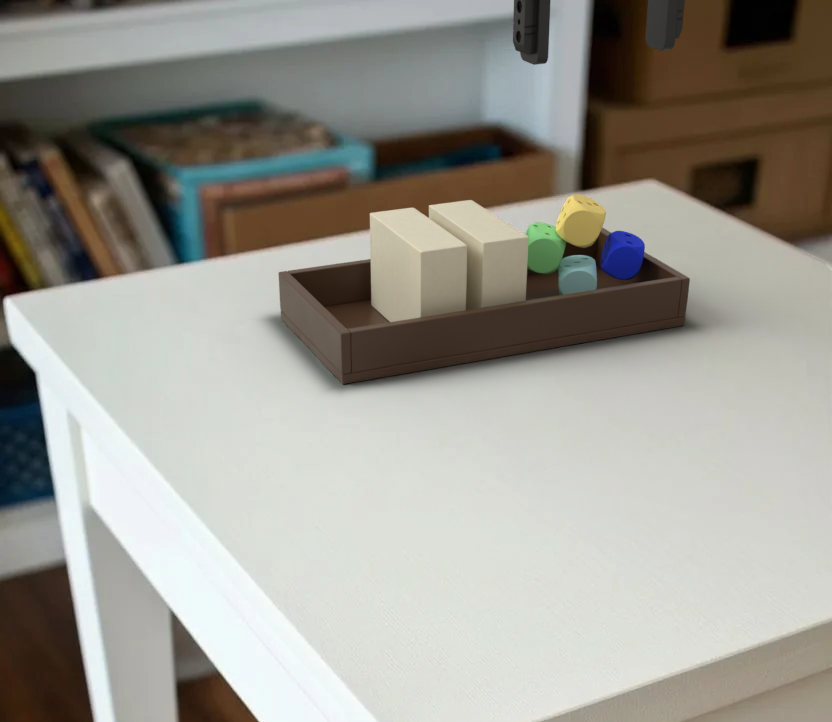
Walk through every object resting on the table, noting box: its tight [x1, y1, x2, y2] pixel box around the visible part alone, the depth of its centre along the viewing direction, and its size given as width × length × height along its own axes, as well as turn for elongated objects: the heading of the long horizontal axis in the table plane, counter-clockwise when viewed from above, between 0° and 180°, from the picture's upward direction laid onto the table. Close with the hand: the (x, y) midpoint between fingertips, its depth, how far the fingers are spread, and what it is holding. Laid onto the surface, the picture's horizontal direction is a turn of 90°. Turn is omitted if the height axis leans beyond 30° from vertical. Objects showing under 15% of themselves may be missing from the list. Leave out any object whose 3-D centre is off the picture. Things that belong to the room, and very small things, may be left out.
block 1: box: [369, 206, 467, 322], centre depth 85 cm, size 3×8×6 cm, turn 23°
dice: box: [524, 193, 646, 295], centre depth 88 cm, size 8×3×6 cm, turn 87°
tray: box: [278, 227, 691, 385], centre depth 87 cm, size 23×11×3 cm, turn 113°
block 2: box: [428, 199, 529, 310], centre depth 86 cm, size 3×8×6 cm, turn 23°
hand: (597, 54), depth 82 cm, fingers open, 8 cm apart
